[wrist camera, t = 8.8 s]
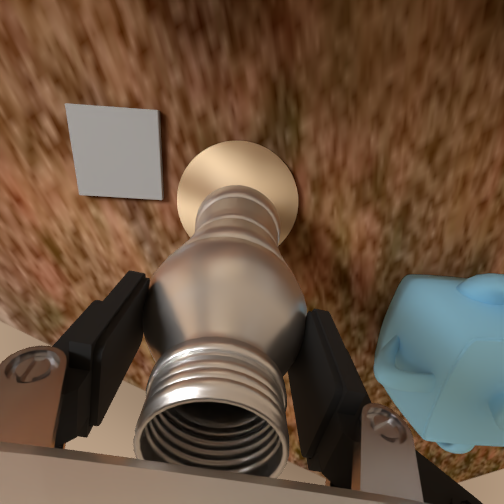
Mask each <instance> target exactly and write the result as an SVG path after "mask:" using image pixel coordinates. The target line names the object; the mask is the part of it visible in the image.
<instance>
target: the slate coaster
mask: <svg viewBox="0 0 504 504" xmlns="http://www.w3.org/2000/svg"><path fill="white" fill-rule="evenodd" d="M65 108H66V114H67V120H68V127H69V133H70V139H71V146H72V152H73V158H74V165H75V171H76V177H77V184H78V190H79V195H88V196H104V197H121V198H137V199H154V200H163V199H164V187H163V167H162V146H161V126H160V111H159V110H148V109H134V108H121V107H107V106H93V105H79V104H65Z"/></svg>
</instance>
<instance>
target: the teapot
mask: <svg viewBox="0 0 504 504" xmlns="http://www.w3.org/2000/svg"><path fill="white" fill-rule="evenodd" d="M374 374H375V377H376V379H377V380H378V382H379V383H381V384H382V385H383V386H384V388H385V390H386V391H387V393H388V394H389V396H390V397H391V399H392V400H393V402H394V403H395V405H396V406H397V407H398V409H399V410H400V411H401V413H402V414H403V415H404V416H405V418H406V419H407V420H408V421H409V423H410V424H411V425H412V426H413V428H414V429H415V430H416V431H417V432H418V434H419V435H420V436H421V437H422V438H423V439H424V440H426V441H432V442H436V443H437V444H438V445H439V446H440V447H441V448H443V449H444V450H446V451H448V452H452V453H458V454H462V453H467V452H469V451H470V450H472V449H473V447H474V446H475V445H482V446H503V447H504V274H493V273H488V274H480V275H475V276H473V277H470V278H468V279H467V278H459V277H449V276H436V275H421V274H410V275H406V276H405V277H404V278H403V279H402V281H401V282H400V284H399V286H398V288H397V290H396V292H395V294H394V296H393V298H392V301H391V303H390V305H389V308H388V310H387V313H386V315H385V318H384V320H383V323H382V327H381V330H380V334H379V338H378V342H377V346H376V351H375V359H374Z"/></svg>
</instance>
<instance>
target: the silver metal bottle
mask: <svg viewBox="0 0 504 504" xmlns="http://www.w3.org/2000/svg"><path fill="white" fill-rule="evenodd" d="M280 232H281V224H280V218H279V214H278V212H277V210H276V208H275V206H274V205H273V203H272V202H271V201H270V200H269V199H268V198H267V197H266V196H265V195H264V194H262V193H261V192H259V191H258V190H256V189H253V188H251V187H248V186H243V185H229V186H225V187H221V188H219V189H217V190H215V191H213V192H212V193H211V194H209V195H208V196H207V197H206V198H205V199H204V201H203V202H202V203H201V205H200V207H199V209H198V212H197V216H196V221H195V233H194V234H193V236H192V237H191V238H190V240H189V241H187V242H186V243H185V244H184V245H182V246H181V247H180V248H179V249H177V250H176V251H175V252H174V253H172V254H171V255H170V256H169V257H168V258H167V259H166V260H165V261H164V262H163V264H162V265H161V266H160V267H159V268H158V269H157V270H156V272H155V273H154V274H153V276H152V278H151V280H150V285H149V290H148V294H147V297H146V300H145V305H144V310H143V316H142V328H143V332H144V336H145V340H146V342H147V345H148V347H149V349H150V351H151V354H152V356H153V358H154V360H155V362H156V364H155V366H154V367H153V370H152V372H151V375H150V378H149V380H148V384H147V388H146V400H145V403H144V406H143V408H142V411H141V414H140V417H139V419H138V422H137V425H136V429H135V436H134V452H135V455H136V458H137V459H141V460H149V461H156V462H163V463H171V464H178V465H185V466H192V467H199V468H206V469H213V470H220V471H227V472H234V473H241V474H248V475H255V476H262V477H269V478H277V477H278V476H279V475H280V474H281V473H282V471H283V470H284V468H285V466H286V464H287V460H288V457H289V435H288V428H287V421H286V414H285V411H286V407H287V395H286V389H285V383H284V380H283V376H284V375H285V374H286V372H287V371H288V369H289V368H290V366H291V365H292V364H293V362H294V361H295V359H296V357H297V355H298V353H299V351H300V347H301V344H302V341H303V337H304V330H305V318H306V315H307V308H306V304H305V299H304V295H303V293H302V291H301V289H300V287H299V284H298V282H297V280H296V278H295V276H294V274H293V272H292V271H291V270H290V268H289V267H288V265H287V264H286V262H285V261H284V259H283V257H282V256H281V254H280V251H279V249H278V244H279V239H280Z"/></svg>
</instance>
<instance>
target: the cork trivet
mask: <svg viewBox="0 0 504 504" xmlns="http://www.w3.org/2000/svg"><path fill="white" fill-rule="evenodd" d="M229 185H243V186H248V187H251V188H253V189H256V190H258V191H259V192H261V193H262V194H264V195H265V196H266V197H267V198H268V199H269V200H270V201H271V202H272V203H273V205H274V206H275V208H276V210H277V212H278V214H279V218H280V224H281V232H280V239H279V244H278V246H279V245H280V244H281V243H282V242H283V241H284V239H285V238H286V237H287V235H288V234H289V233H290V231H291V229H292V227H293V225H294V222H295V220H296V216H297V212H298V192H297V187H296V184H295V180H294V178H293V176H292V174H291V172H290V171H289V169H288V167H287V166H286V165H285V163H284V162H283V161H282V160H281V159H280V158H279V157H278V156H277V155H276V154H274V153H273V152H271V151H270V150H269V149H267V148H265V147H263V146H261V145H258V144H255V143H252V142H247V141H226V142H222V143H219V144H216V145H213V146H211V147H209V148H207V149H206V150H204V151H202V152H201V153H200V154H199V155H197V156H196V157H195V158H194V159H193V160H192V161H191V162H190V164H189V165H188V166H187V168H186V169H185V171H184V173H183V175H182V177H181V180H180V183H179V187H178V193H177V207H178V213H179V217H180V220H181V222H182V225H183V227H184V229H185V230H186V232H187V233H188V235H189V236H190V238H191V237H192V236H193V234H194V233H195V221H196V216H197V212H198V209H199V207H200V205H201V203H202V202H203V201H204V199H205V198H206V197H207V196H208V195H209V194H211V193H212V192H213V191H215V190H217V189H219V188H221V187H225V186H229Z"/></svg>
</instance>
